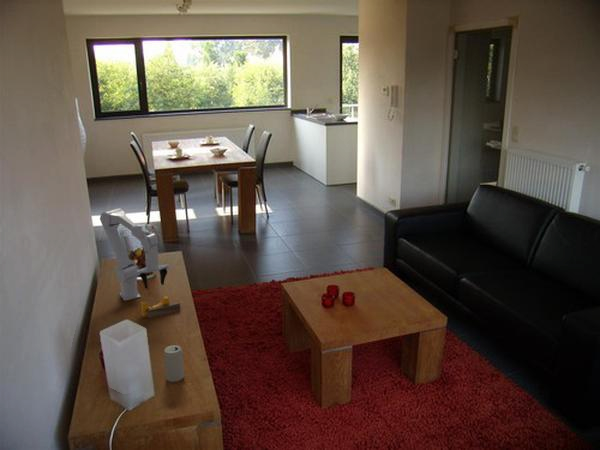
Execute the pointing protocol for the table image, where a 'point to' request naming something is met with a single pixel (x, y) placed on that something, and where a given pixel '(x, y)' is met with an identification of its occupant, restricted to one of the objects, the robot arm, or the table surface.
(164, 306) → the bar
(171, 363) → the beverage can
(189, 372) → the table surface
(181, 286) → the table surface
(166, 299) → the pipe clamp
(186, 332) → the table surface
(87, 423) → the table surface
